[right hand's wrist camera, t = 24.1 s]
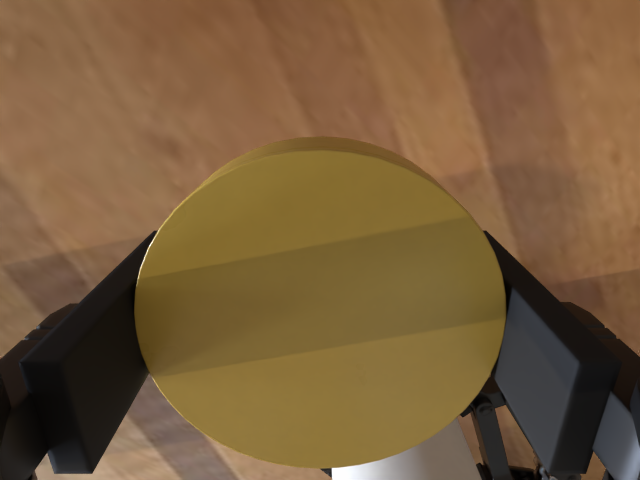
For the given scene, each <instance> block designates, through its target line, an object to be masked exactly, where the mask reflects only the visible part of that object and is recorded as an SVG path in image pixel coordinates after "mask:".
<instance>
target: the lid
mask: <svg viewBox="0 0 640 480" xmlns="http://www.w3.org/2000/svg"><path fill="white" fill-rule="evenodd" d="M134 317H135V327H136V333H137V338H138V343H139V347H140V350H141V354H142V356H143V359H144V361H145V364H146V366H147V368H148V371H149V373H150V375H151V376H152V378H153V380H154V381H155V383H156V385H157V386H158V388H159V390H160V391H161V392H162V394H163V395H164V396H165V397H166V399H167V400H168V401H169V403H170V404H171V405H172V406H173V407H174V408H175V409H176V410H177V411H178V412H179V413H180V414H181V415H182V416H183V417H184V418H185V419H186V420H187V421H188V422H190V423H191V424H192V425H193V426H195V427H196V428H197V429H198V430H200V431H201V432H202V433H204V434H205V435H207V436H209V437H210V438H212V439H213V440H215V441H217V442H218V443H220V444H222V445H224V446H226V447H228V448H230V449H232V450H234V451H236V452H239V453H242V454H244V455H247V456H250V457H253V458H255V459H258V460H262V461H266V462H270V463H274V464H279V465H285V466H292V467H299V468H316V469H321V468H341V467H349V466H356V465H362V464H366V463H370V462H375V461H379V460H382V459H385V458H388V457H391V456H394V455H397V454H399V453H402V452H404V451H406V450H408V449H410V448H413V447H415V446H417V445H419V444H420V443H422V442H424V441H426V440H427V439H429V438H431V437H432V436H434V435H435V434H437V433H438V432H439V431H441V430H442V429H443V428H445V427H446V426H447V425H449V424H450V423H451V422H452V421H454V420H455V419H456V418H457V417H458V416H459V415H460V414H461V413H462V412H463V411H464V410H465V409H466V408H467V407H468V406H469V404H470V403H471V402H472V401H473V400H474V398H475V397H476V396H477V395H478V393H479V392H480V390H481V389H482V387H483V386H484V384H485V382H486V381H487V379H488V378H489V376H490V374H491V372H492V369H493V367H494V365H495V363H496V361H497V358H498V355H499V352H500V348H501V345H502V340H503V335H504V330H505V323H506V293H505V287H504V282H503V276H502V272H501V269H500V267H499V264H498V261H497V258H496V255H495V252H494V250H493V249H492V247H491V245H490V243H489V241H488V239H487V238H486V236H485V234H484V232H483V231H482V229H481V228H480V227H479V225H478V224H477V223H476V221H475V220H474V219H473V217H472V216H471V215H470V213H469V212H468V211H467V210H466V209H465V208H464V207H463V206H462V205H460V204H459V203H458V202H457V201H456V200H455V199H454V198H453V197H452V196H451V195H450V194H449V193H448V192H447V191H446V190H445V189H444V188H443V187H442V186H441V185H440V184H439V183H438V182H437V181H435V180H434V179H433V178H432V177H431V176H430V175H429V174H428V173H426V172H425V171H423V170H422V169H421V168H419V167H418V166H417V165H415V164H414V163H412V162H411V161H409V160H407V159H405V158H403V157H401V156H399V155H397V154H396V153H394V152H392V151H389V150H386V149H384V148H381V147H378V146H375V145H373V144H370V143H365V142H361V141H356V140H352V139H347V138H336V137H323V136H322V137H303V138H295V139H289V140H284V141H279V142H274V143H271V144H268V145H265V146H262V147H259V148H256V149H253V150H251V151H249V152H247V153H245V154H243V155H241V156H239V157H237V158H235V159H233V160H232V161H230V162H229V163H227V164H226V165H224V166H223V167H221V168H220V169H218V170H217V171H215V172H214V173H213V174H212V175H211V176H210V177H209V178H207V179H206V180H205V181H204V182H203V183H202V184H201V185H200V186H199V187H198V188H197V189H196V190H194V191H193V192H192V193H191V194H190V195H189V196H188V197H187V198H186V199H185V200H184V201H183V202H182V203H181V204H180V205H179V206H178V207H177V208H175V210H174V211H173V212H172V213H171V215H170V216H169V217H168V218H167V220H166V221H165V222H164V223H163V224H162V226H161V227H160V228H159V230H158V232H157V233H156V235H155V237H154V239H153V240H152V242H151V244H150V246H149V247H148V249H147V252H146V255H145V257H144V260H143V262H142V265H141V267H140V271H139V275H138V280H137V285H136V289H135V303H134Z"/></svg>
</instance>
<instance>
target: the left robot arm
mask: <svg viewBox="0 0 640 480" xmlns="http://www.w3.org/2000/svg"><path fill="white" fill-rule="evenodd" d="M503 405H506V406H507V408H508V409H509V411H510V412H511V414H512V416H513V417H514V419H515V421H516V422H517V424H518V425H519V427H520V429H521V430H522V432H523V434H524V435H525V437H526V438H527V440H528V442H529V443H530V441H529V439H528V437H527V435H526V434H525V432H524V430H523V428H522V427H521V425H520V423H519V421H518V420H517V418H516V416H515V414H514V412H513V411H512V409H511V407H510V405H509V404H508V402H507V400H506V398H505V397H504V395H503V393H502V391H501V389H500V388H499V386H498V384H497V382H496V381H495V379H494V377H493V375H492V374H491V377H489V378H488V379H487V381H486V382H485V384H484V386H483V387H482V389H481V390H480V392H479V393H478V395H477V396H476V397H475V398H474V400H473V401H472V402H471V403H470V404H469V406H468V407H467V408H466V409H465V410H464V411H463V412H462V413H461V414H460V415H461V416H462V417H464V416H466V415H467V414H469V413H470V412H471V416H472V420H473V423H474V427H475V431H476V435H477V438H478V442H479V446H480V447H479V449H480V452H481V456H482V460H483V463H484V465H482V464H481V463H478V464H477V465H476V467H477V469H478V472H479V474H480V477H481V479H482V480H581V475H580V474H548V473H547V471H546V469H545V467H544V465H543V464H542V462H541V460H540V458H539V457H538V455H537V453H536V451H535V450H534V448H533V446H532V444H531V443H530V445H531V447H532V448H533V453H534V455H535V457H534V460H533V461H534V463H535V465H536V469H535V470H533V469H530V468H524V467H516V466H508V461H507V457H506V453H505V449H504V445H503V441H502V437H501V432H500V428H499V424H498V420H497V416H496V412H495V408H497V407H500V406H503ZM321 470H322V471H324V472H325V473H326V474H328V475H329V476H330V477H331V478H332V468H321Z"/></svg>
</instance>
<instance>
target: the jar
mask: <svg viewBox="0 0 640 480" xmlns="http://www.w3.org/2000/svg"><path fill="white" fill-rule="evenodd" d="M332 480H482V479H481V477H480V474H479V472H478V469H477V467H476V464H475V462H474V459H473V457H472V454H471V452H470V449H469V447H468V444H467V442H466V439H465V437H464V434H463V432H462V429H461V427H460V424H459V422H458V419H457V418H456V419H455V420H454V421H452V422H451V423H450V424H449V425H447V426H446V427H445V428H443V429H442V430H441V431H439V432H438V433H437V434H435V435H434V436H432V437H431V438H429V439H427V440H426V441H424V442H422V443H420V444H419V445H417V446H415V447H413V448H410V449H408V450H406V451H404V452H402V453H399V454H397V455H394V456H391V457H388V458H385V459H382V460H379V461H375V462H370V463H366V464H362V465H356V466H349V467H341V468H332Z"/></svg>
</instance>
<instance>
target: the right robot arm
mask: <svg viewBox="0 0 640 480" xmlns="http://www.w3.org/2000/svg"><path fill="white" fill-rule="evenodd" d="M157 232H158V231H153V232H152V233H151V234H150V235H149V236H148V237H147V238H146V239H145V240H144V241H143V242H142V243H141V244H140V245H139V246H138V247H137V248H136V249H135V250H134V251H133V252H132V253H131V254H130V255H128V256H127V257H126V258H125V259H124V260H123V261H122V262H121V263H120V264H119V265H118V266H117V267H116V268H115V269H114V270H113V271H112V272H111V273H110V274H109V275H108V276H107V277H106V278H105V279H104V280H103V281H101V282H100V283H99V284H98V285H97V286H96V287H95V288H94V289H93V290H92V291H91V292H90V293H89V294H88V295H87V296H86V297H85V298H84V299H83V300H82V301H81V302H80V303H79V304H69V305H67V306H65V307H63V308H61V309H59V310H57V311H56V312H54V313H52V314H50V315H49V316H48V317H47V318H46V319H45V320H44V321H42V322H41V323H40V324H39V325H38V326H37V327H36V329H34V330H32V331H31V332H30V333H29V334H28V335H27V336H26V337H25V340H21V341H20V342H19V343H18V344H17V345H16V346H15V347H14V348H12V349H11V350H10V351H9V352H8V353H7V354H6V355H5V356H4V357H3V358H1V359H0V480H37V476H36V473H35V471H34V470H35V469H36V467H37V466H38V465H39V463H40V462H41V460H42V459H43V458H44V456H45V455H46V453H48V456H49V459H50V462H51V465H52V468H53V471H54V474H92V473H93V471H94V470H95V468H96V466H97V464H98V462H99V461H100V459H101V457H102V455H103V454H104V452H105V450H106V448H107V447H108V445H109V443H110V441H111V439H112V438H113V436H114V434H115V432H116V431H117V429H118V427H119V425H120V424H121V422H122V420H123V418H124V416H125V415H126V413H127V411H128V409H129V408H130V406H131V404H132V402H133V401H134V399H135V397H136V395H137V393H138V392H139V390H140V388H141V386H142V385H143V383H144V381H145V379H146V378H147V376H148V374H149V371H148V368H147V366H146V364H145V361H144V359H143V356H142V354H141V350H140V347H139V343H138V338H137V333H136V327H135V317H134V303H135V289H136V285H137V280H138V275H139V271H140V267H141V265H142V262H143V260H144V257H145V255H146V252H147V249H148V247H149V246H150V244H151V242H152V240H153V239H154V237H155V235H156V233H157ZM483 232H484V234H485V236H486V238H487V239H488V241H489V243H490V245H491V247H492V249H493V250H494V252H495V255H496V258H497V261H498V264H499V267H500V269H501V272H502V276H503V282H504V287H505V293H506V323H505V330H504V335H503V340H502V345H501V348H500V352H499V355H498V358H497V361H496V363H495V365H494V367H493V369H492V372H491V374H492V375H493V377H494V379H495V381H496V382H497V384H498V386H499V388H500V389H501V391H502V393H503V395H504V397H505V398H506V400H507V402H508V404H509V405H510V407H511V409H512V411H513V412H514V414H515V416H516V418H517V420H518V421H519V423H520V425H521V427H522V428H523V430H524V432H525V434H526V435H527V437H528V439H529V441H530V443H531V444H532V446H533V448H534V450H535V451H536V453H537V455H538V457H539V458H540V460H541V462H542V464H543V465H544V467H545V469H546V471H547V473H548V474H586V472H587V469H588V466H589V463H590V460H591V457H592V454H593V451H594V452H595V454H596V455H597V456H598V458H599V459H600V461H601V462H602V463H603V465H604V466H605V467H606V471H605V473H604V476H603V479H602V480H640V357H639V356H638V355H637V354H636V353H635V352H633V351H632V350H631V349H630V348H629V347H628V346H627V345H626V344H625V343H623V342H622V341H621V340H620V339H616V335H614V334H613V333H612V332H611V331H610V330H609V329H608V328H605V327H604V325H603V324H602V323H601V322H600V321H599V320H598V319H597V318H596V317H594V316H593V315H592V314H591V313H590V312H588V311H586V310H584V309H582V308H580V307H578V306H577V305H575V304H573V303H571V302H560V301H559V300H557V299H556V298H555V297H554V296H553V295H552V294H551V293H550V292H549V291H548V290H547V289H546V288H545V287H544V286H543V285H542V284H541V283H540V282H539V281H538V280H537V279H536V278H535V277H534V276H533V275H532V274H530V273H529V272H528V271H527V270H526V269H525V268H524V267H523V266H522V265H521V264H520V263H519V262H518V261H517V260H516V259H515V258H514V257H513V256H512V255H511V254H510V253H509V252H508V251H507V250H506V249H505V248H504V247H502V246H501V245H500V244H499V243H498V242H497V241H496V240H495V239H494V238H493V237H492V236H491V235H490V234H489V233H488V232H487V231H483Z"/></svg>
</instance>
